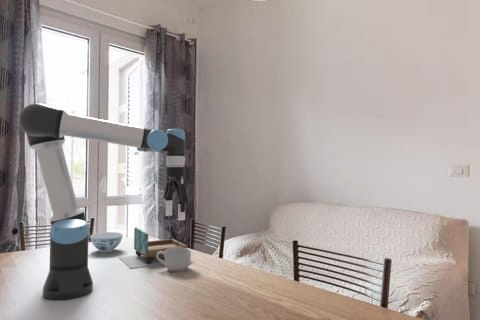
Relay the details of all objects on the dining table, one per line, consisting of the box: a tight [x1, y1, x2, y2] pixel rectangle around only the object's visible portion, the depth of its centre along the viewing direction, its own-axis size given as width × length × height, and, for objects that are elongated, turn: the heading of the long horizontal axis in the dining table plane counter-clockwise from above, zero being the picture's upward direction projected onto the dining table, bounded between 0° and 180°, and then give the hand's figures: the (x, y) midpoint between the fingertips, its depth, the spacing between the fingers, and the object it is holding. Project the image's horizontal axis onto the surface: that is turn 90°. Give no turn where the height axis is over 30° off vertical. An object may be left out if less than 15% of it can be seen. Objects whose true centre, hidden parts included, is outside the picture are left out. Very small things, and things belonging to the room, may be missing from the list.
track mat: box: [118, 254, 165, 270], centre depth 160 cm, size 19×26×1 cm
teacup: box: [156, 247, 192, 273], centre depth 145 cm, size 14×11×8 cm
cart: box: [133, 226, 188, 263], centre depth 161 cm, size 17×19×13 cm
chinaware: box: [89, 231, 123, 253], centre depth 173 cm, size 15×15×8 cm
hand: (175, 217), depth 145 cm, fingers open, 13 cm apart
